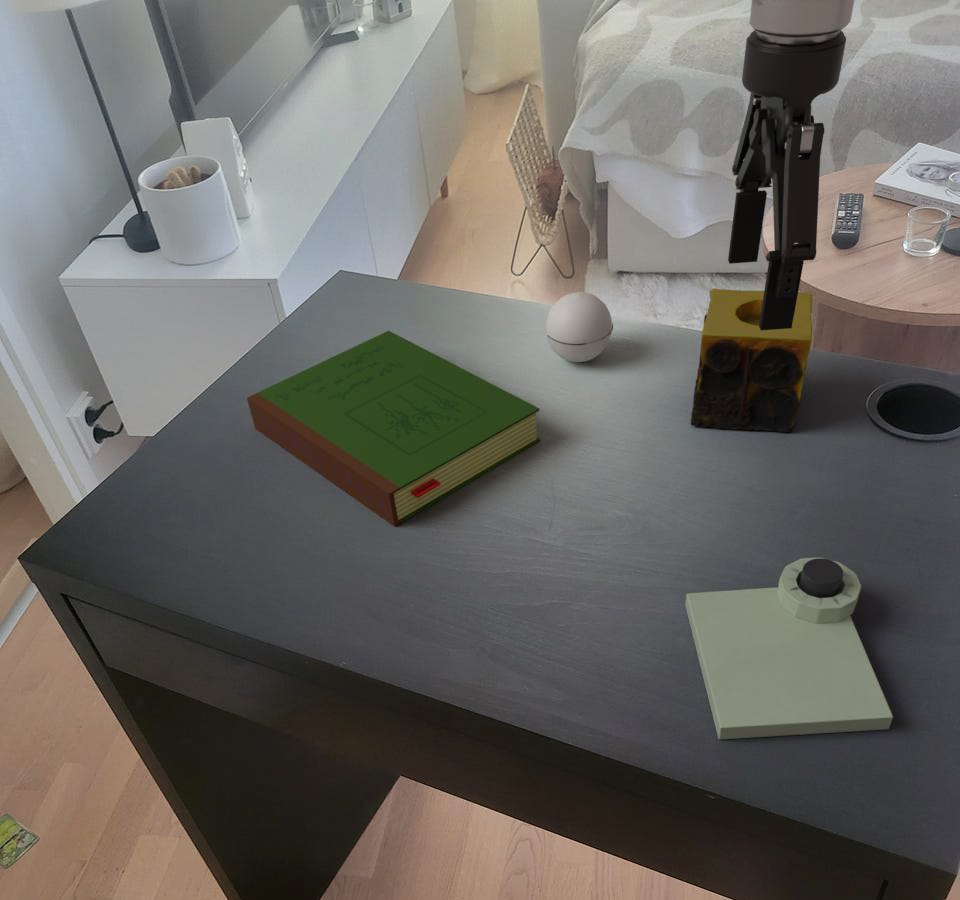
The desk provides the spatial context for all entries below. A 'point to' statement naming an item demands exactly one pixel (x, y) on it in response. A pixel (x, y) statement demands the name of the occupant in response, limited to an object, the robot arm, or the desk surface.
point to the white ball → (579, 327)
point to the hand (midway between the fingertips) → (757, 292)
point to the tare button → (821, 578)
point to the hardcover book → (394, 424)
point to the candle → (750, 364)
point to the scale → (785, 660)
